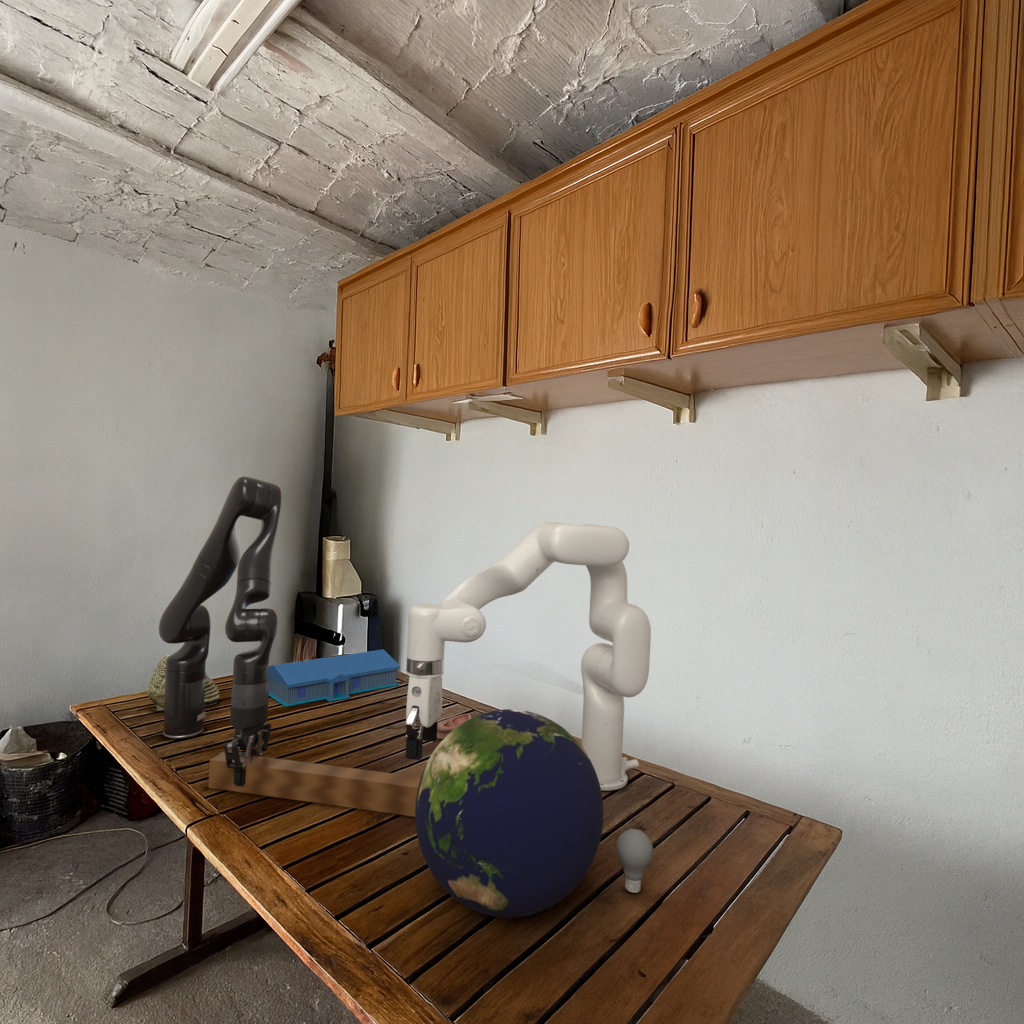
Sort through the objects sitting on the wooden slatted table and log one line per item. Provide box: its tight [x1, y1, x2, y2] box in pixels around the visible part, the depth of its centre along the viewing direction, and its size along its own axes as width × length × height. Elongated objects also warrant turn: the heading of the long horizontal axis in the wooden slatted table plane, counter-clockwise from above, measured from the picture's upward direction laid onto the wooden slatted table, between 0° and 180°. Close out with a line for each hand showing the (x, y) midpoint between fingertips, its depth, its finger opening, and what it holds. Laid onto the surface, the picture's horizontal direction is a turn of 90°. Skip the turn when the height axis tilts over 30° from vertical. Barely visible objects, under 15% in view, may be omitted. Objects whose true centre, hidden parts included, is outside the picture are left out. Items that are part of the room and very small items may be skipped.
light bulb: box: [615, 828, 654, 894], centre depth 106 cm, size 6×6×10 cm
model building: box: [268, 649, 401, 707], centre depth 208 cm, size 39×24×10 cm, turn 132°
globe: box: [414, 708, 604, 919], centre depth 101 cm, size 30×30×30 cm
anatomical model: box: [437, 713, 472, 740], centre depth 174 cm, size 13×4×12 cm
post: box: [208, 751, 421, 818], centre depth 133 cm, size 54×5×6 cm, turn 80°
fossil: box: [147, 654, 221, 712], centre depth 185 cm, size 9×18×15 cm, turn 132°
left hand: (247, 779), depth 137 cm, fingers closed on post, 4 cm apart
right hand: (421, 749), depth 129 cm, fingers open, 9 cm apart
